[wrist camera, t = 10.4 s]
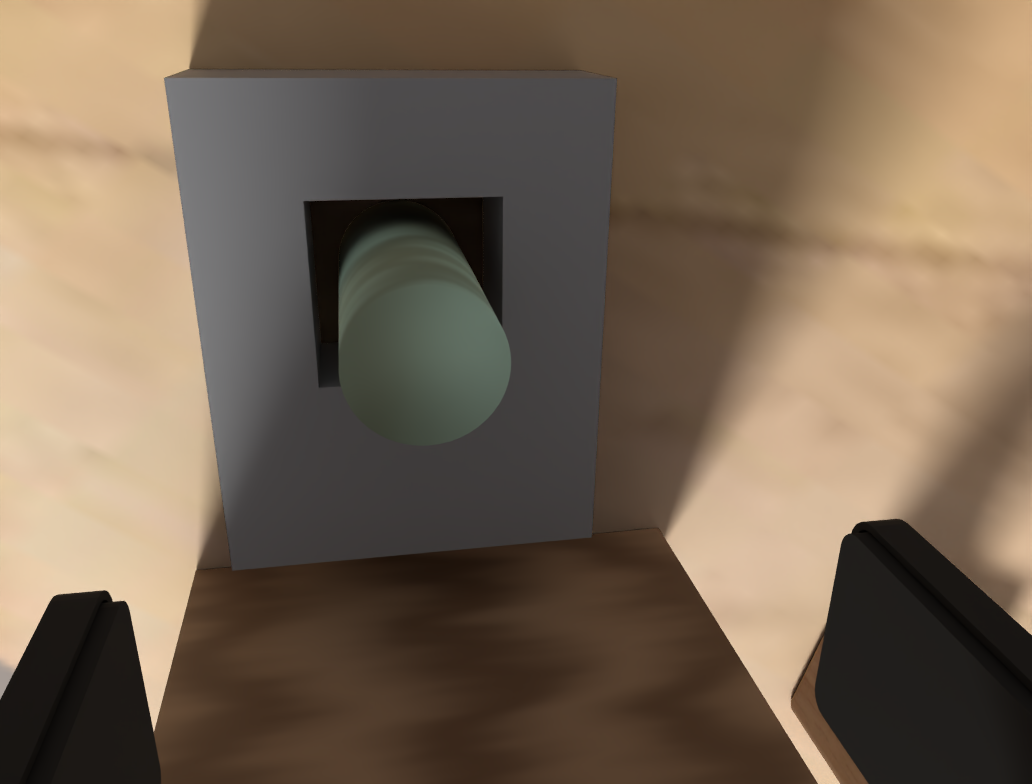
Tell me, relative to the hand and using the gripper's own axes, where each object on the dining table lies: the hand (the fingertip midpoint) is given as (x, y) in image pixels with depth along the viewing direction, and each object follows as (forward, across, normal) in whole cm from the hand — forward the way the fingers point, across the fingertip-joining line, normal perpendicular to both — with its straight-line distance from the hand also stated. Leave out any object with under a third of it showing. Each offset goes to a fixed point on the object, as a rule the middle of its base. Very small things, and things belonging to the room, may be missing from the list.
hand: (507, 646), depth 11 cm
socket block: (+20, 0, +2) cm, 20 cm away
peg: (+20, 0, 0) cm, 20 cm away
